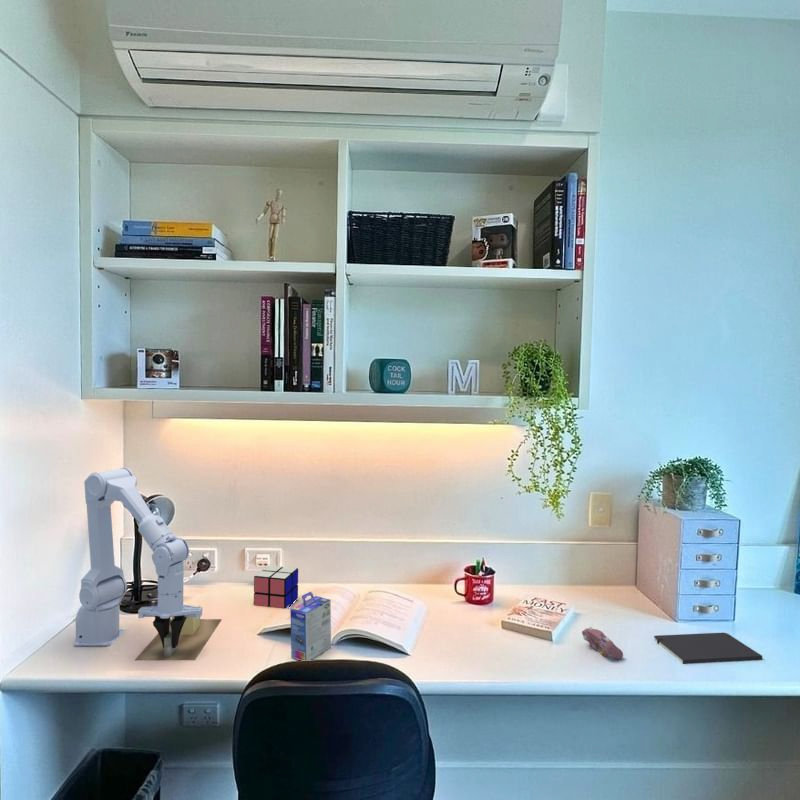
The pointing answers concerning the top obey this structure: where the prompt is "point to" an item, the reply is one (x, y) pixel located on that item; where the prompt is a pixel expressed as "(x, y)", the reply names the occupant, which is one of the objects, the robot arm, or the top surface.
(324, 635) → the ink cartridge box
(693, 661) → the notebook
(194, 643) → the tan flat slab
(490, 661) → the top surface
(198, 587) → the top surface
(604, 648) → the reddish brown lumpy piece
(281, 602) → the puzzle cube
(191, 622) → the block
